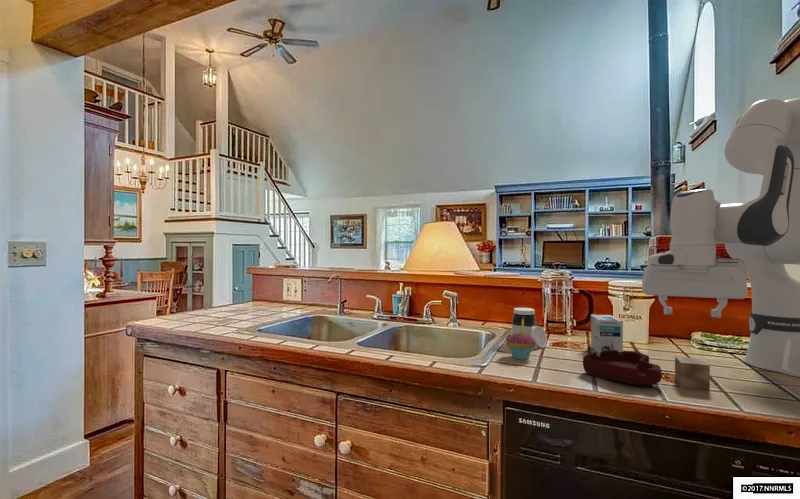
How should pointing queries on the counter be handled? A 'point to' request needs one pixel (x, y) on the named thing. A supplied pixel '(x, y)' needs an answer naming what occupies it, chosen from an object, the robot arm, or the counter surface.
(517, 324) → the spread jar
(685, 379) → the grey-brown cube
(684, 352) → the counter surface
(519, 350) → the cupcake
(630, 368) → the ashtray
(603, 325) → the light bulb box
